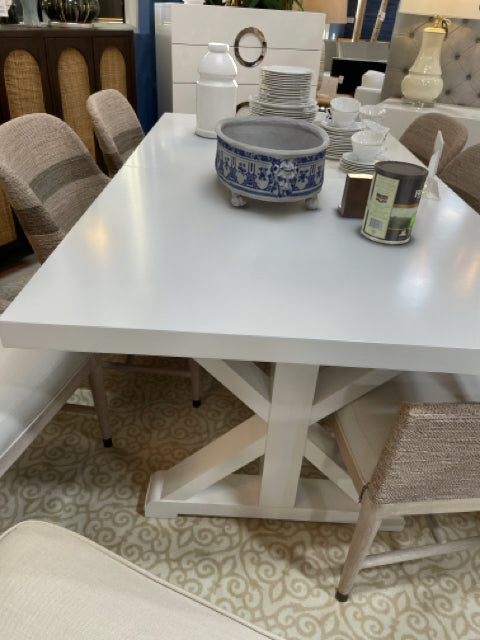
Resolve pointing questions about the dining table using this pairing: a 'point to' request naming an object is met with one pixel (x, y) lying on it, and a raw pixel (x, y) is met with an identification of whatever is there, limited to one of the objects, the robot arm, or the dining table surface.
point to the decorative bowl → (271, 159)
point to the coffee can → (393, 201)
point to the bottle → (215, 89)
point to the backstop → (355, 195)
